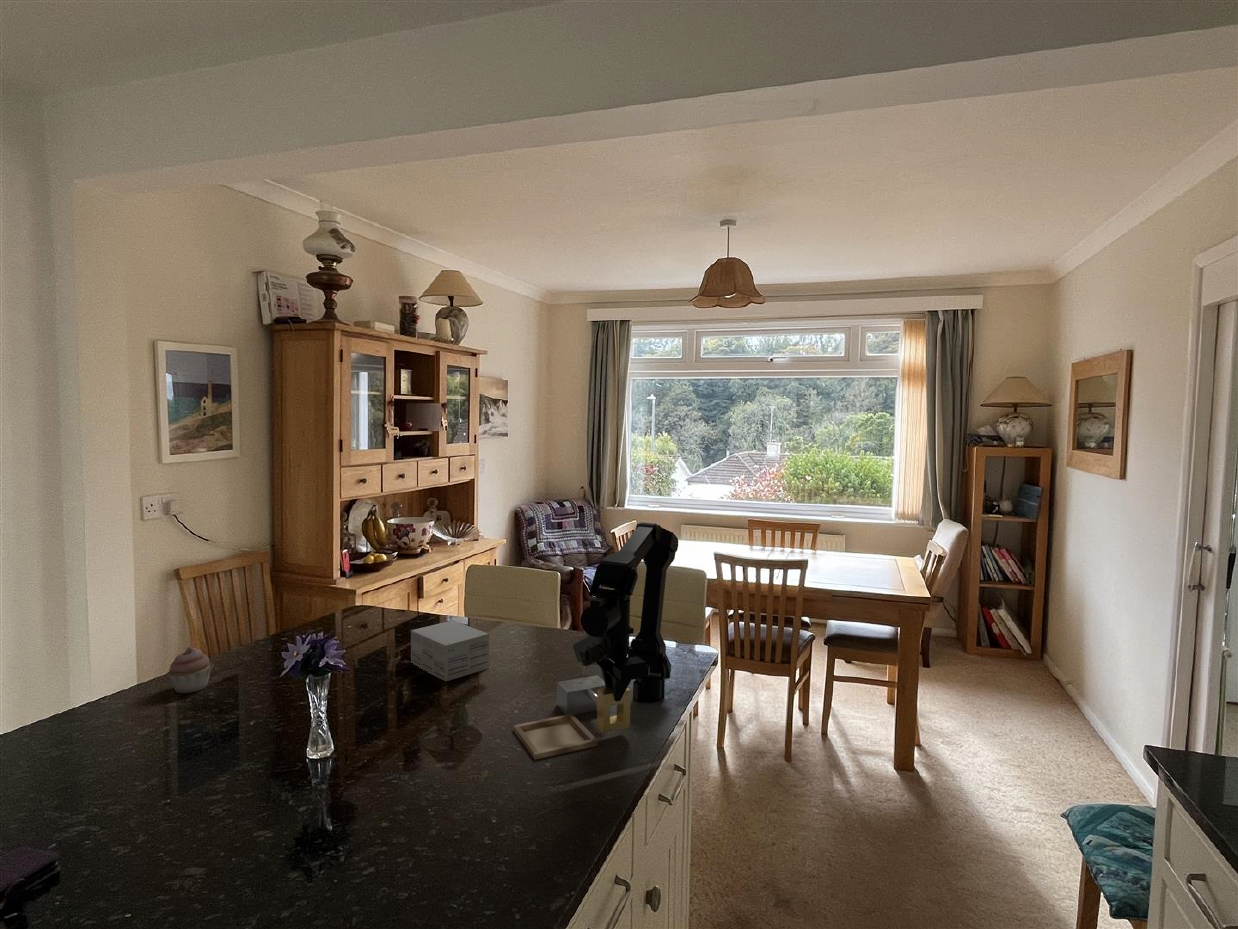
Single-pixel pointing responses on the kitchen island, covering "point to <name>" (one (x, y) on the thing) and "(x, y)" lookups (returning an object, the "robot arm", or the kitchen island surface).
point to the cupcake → (190, 671)
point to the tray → (554, 736)
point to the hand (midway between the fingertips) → (613, 697)
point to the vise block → (579, 694)
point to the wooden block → (603, 710)
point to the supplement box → (450, 650)
